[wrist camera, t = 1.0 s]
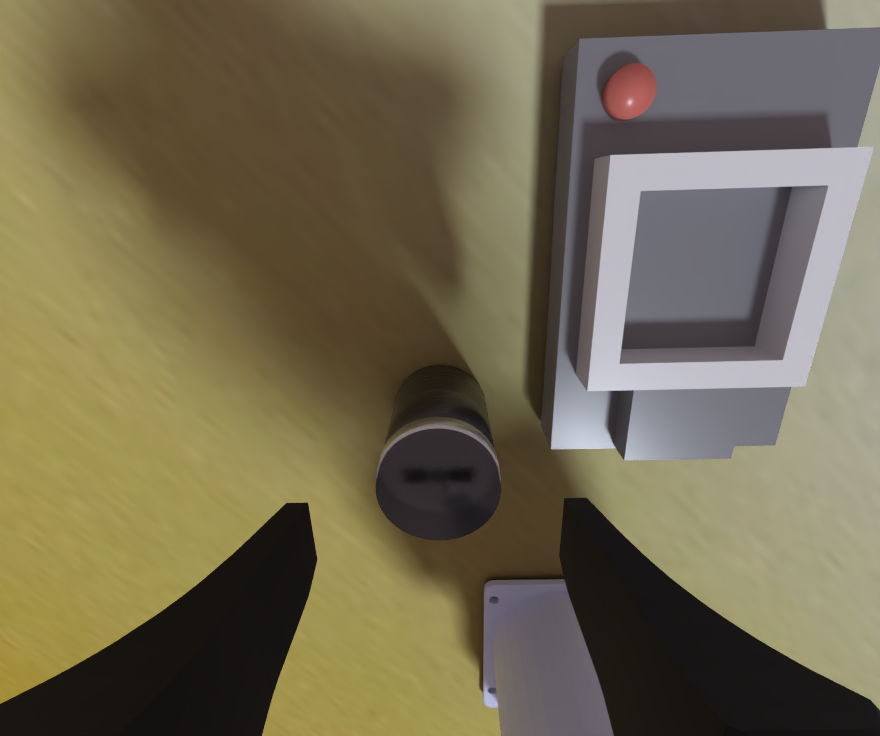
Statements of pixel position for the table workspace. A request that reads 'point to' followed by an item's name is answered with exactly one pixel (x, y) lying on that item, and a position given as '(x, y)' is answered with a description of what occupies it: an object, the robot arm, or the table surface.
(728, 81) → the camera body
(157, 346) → the table surface
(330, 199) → the table surface
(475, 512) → the lens
